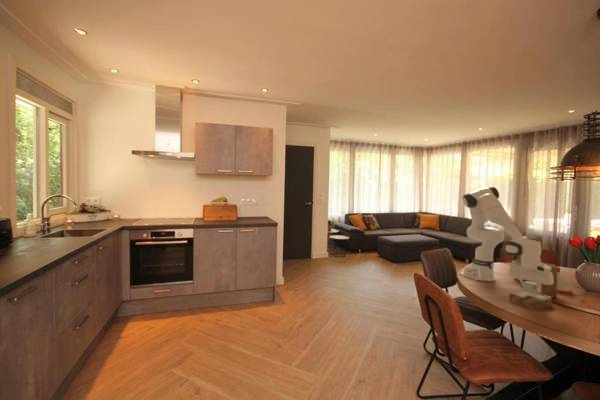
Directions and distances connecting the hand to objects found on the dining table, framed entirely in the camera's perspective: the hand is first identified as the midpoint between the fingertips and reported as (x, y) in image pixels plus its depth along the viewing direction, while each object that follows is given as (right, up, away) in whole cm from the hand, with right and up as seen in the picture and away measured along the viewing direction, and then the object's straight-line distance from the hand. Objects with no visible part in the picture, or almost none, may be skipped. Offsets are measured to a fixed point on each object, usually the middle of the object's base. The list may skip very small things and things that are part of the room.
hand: (529, 287), depth 159 cm
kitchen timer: (+36, -9, +22) cm, 43 cm away
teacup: (+29, -8, +44) cm, 53 cm away
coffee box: (+45, -7, +61) cm, 76 cm away
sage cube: (0, -2, 0) cm, 2 cm away
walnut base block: (+1, -10, 0) cm, 10 cm away
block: (+22, -9, +12) cm, 26 cm away
